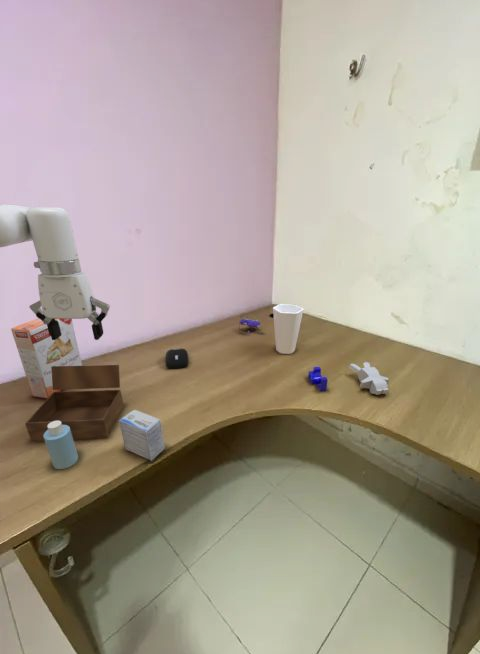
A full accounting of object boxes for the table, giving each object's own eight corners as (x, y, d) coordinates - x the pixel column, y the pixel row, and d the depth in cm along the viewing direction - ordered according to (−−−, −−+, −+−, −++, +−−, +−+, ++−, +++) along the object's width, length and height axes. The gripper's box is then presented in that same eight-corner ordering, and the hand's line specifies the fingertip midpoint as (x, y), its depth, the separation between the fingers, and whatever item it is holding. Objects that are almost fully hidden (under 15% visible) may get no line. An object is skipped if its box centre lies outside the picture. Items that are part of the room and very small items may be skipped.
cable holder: (308, 377, 102) (309, 367, 101) (318, 377, 103) (319, 366, 101) (315, 391, 95) (316, 380, 94) (326, 390, 96) (327, 379, 94)
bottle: (49, 470, 64) (35, 432, 60) (59, 453, 69) (47, 417, 64) (72, 468, 65) (61, 431, 61) (81, 452, 69) (71, 416, 65)
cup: (298, 345, 125) (302, 304, 118) (300, 356, 116) (304, 313, 109) (271, 343, 125) (273, 303, 118) (270, 355, 116) (272, 312, 109)
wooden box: (31, 441, 72) (24, 423, 69) (58, 408, 83) (53, 391, 81) (107, 437, 74) (103, 419, 71) (123, 405, 85) (120, 389, 83)
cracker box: (50, 400, 86) (29, 330, 77) (31, 397, 87) (8, 328, 78) (86, 375, 99) (71, 312, 90) (69, 372, 99) (52, 310, 91)
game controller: (257, 317, 142) (266, 320, 134) (253, 334, 143) (261, 338, 134) (237, 312, 138) (245, 315, 129) (233, 330, 139) (240, 334, 130)
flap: (51, 366, 80) (51, 366, 80) (52, 389, 80) (53, 389, 81) (118, 364, 82) (118, 364, 82) (119, 387, 82) (120, 387, 83)
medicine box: (165, 449, 71) (161, 418, 67) (151, 462, 67) (146, 431, 64) (139, 438, 74) (134, 408, 70) (124, 450, 70) (118, 419, 67)
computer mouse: (187, 352, 116) (187, 342, 114) (188, 368, 105) (187, 357, 103) (166, 354, 114) (165, 344, 112) (165, 370, 103) (164, 359, 102)
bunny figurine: (370, 387, 91) (347, 359, 103) (366, 400, 93) (344, 371, 106) (398, 384, 93) (372, 356, 105) (393, 397, 96) (368, 368, 108)
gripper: (7, 270, 65) (31, 344, 72) (95, 271, 66) (109, 344, 74) (29, 263, 71) (48, 332, 79) (108, 265, 73) (120, 331, 80)
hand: (78, 337), depth 76 cm, fingers open, 9 cm apart
